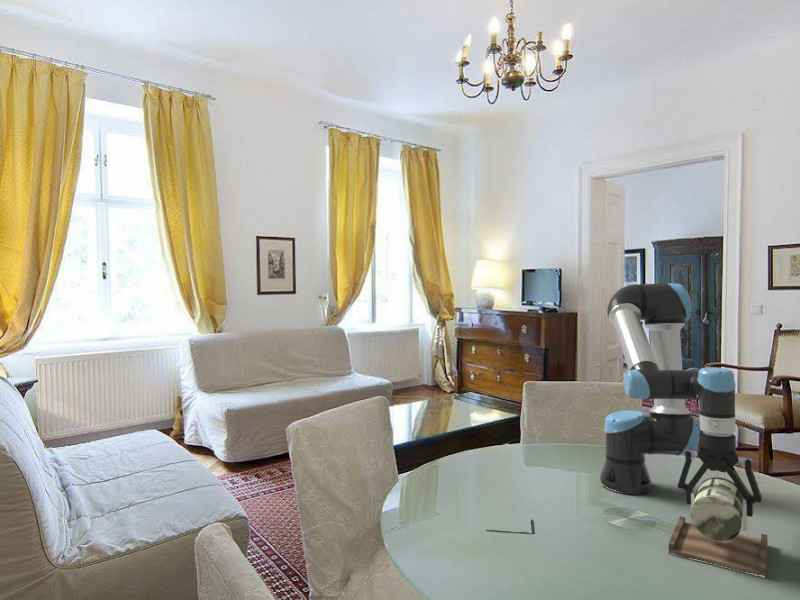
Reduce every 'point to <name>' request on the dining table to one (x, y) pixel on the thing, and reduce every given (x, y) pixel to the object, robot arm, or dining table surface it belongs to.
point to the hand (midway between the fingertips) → (718, 523)
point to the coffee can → (718, 509)
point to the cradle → (720, 549)
